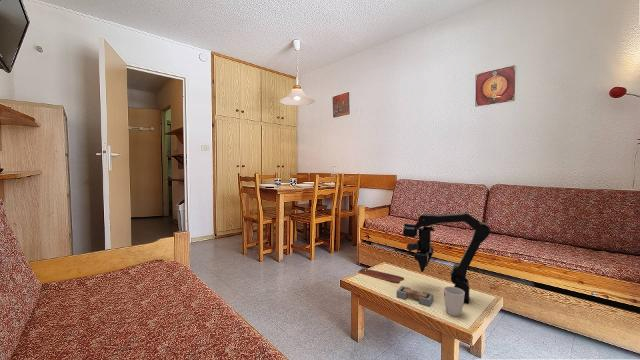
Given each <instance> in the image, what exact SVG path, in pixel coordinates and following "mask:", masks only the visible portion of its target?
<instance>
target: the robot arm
mask: <svg viewBox="0 0 640 360" xmlns="http://www.w3.org/2000/svg"><path fill="white" fill-rule="evenodd" d="M417 220H418V221H417V222H416V223H415V224H411V223H404V224H403V231H402V235H403V237H406V238H407V237H408V238H413V239H416V237H418V240H417V241H415V242H410V243H408V244H407V245H406V249H407V250H408V252H411V251H416V252H415V253H414V254H413V259H414V260H416V261H417V262H418V265H419V269H420V272H421V273H423V272H425V269H426V267H428V265H429V263H430V261H431V259H432V256H433V255H434V252H435V248H434V247H433V245H431V244H432V239H431V237H432V233H431V232H435V231H436V229H435V228H434V227H433V226H434V225H437V224H442V223H443V224H447V223H462V222H463V223H466V224H467V225H468V226H470V227H471V229H473V233H472V237H471V240H470V242H469V244H468V246H467V248H466V250H465V252H464V254H463V256H462V258H461V259H460V261H459V263H458V264H457V265H456V264H454V263H453V266H452V268H451V269H450V273H449V274H450V275H449V276H450V280H451V282H452V284H454V286H453V287H456V288H459V289H462V290H463V291H464V292H465V295H464V303H465V304H469V303H470V299H471V297H470V291H471V290H470V289H471V288H470V282H469V280H468V278H467V277H466V276H467V272H468V268H469V266H470V265H471V263H472V261H473V259H474V257H475V255H476V253H477V251H478V249H479V248H480V246H481V244H482V243H483V242H484V241H485V240H486V239H487V238H488V237H489V235H491V229H490V226H489V225H488V223H486V222H483V221H480V220H478V219H477V218H475V217H474V216H472V215H470V213H468V212H462V213H448V214H433V213H422V214H420V215H419V217H418V219H417ZM464 303H463V304H464Z"/></svg>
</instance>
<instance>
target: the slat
mask: <svg viewBox="0 0 640 360" xmlns="http://www.w3.org/2000/svg"><path fill="white" fill-rule="evenodd" d="M403 292H406V293H407V299H408V300H411V301H414V302H418V303H419V297H424V298H428V294H426V293H423V291H422V292H421V291H418V290H413V289H411V290H410V289H406V288H404V290H403ZM407 299H406V300H407Z"/></svg>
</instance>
